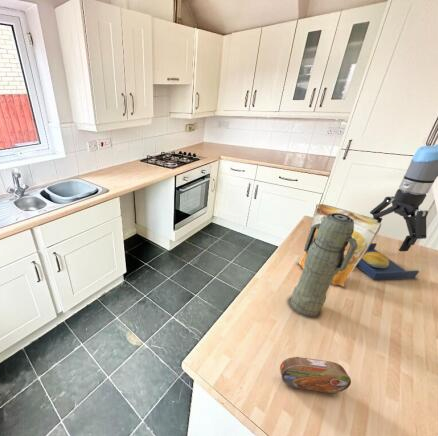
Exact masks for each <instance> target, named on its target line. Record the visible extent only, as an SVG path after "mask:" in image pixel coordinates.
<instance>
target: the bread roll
mask: <svg viewBox="0 0 438 436" xmlns="http://www.w3.org/2000/svg"><path fill="white" fill-rule="evenodd" d="M388 259H389V258H388V256H386V255H385V254H383V253H380V252H379V253H378V251H377V252H367V253H365V254H364V256H363V257H362V261H364V262H365V263H366V264H367V265H369V266H372V267H375V268H386V267H388V266H389V260H390V259H389V260H388Z"/></svg>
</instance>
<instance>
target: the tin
mask: <svg viewBox="0 0 438 436" xmlns="http://www.w3.org/2000/svg"><path fill="white" fill-rule="evenodd" d="M279 373H280V376H281V379H282V381H283V383H284V384H285V385H287V386H289V387H292V388H295V389H301V390H309V391H314V392H320V393H327V394H337V393H341V392H343V391H346V390H347V389H348V388H350V386H351V385H352V379H351V377H350V375H349V374H348V372H347V371H346V369H345V368H344V367H343V366H342V365H341V364H339V363H337V362H335V361H329V360H321V359H314V358H307V357H300V356H292V357H289V358H286V359H284V360H283V361H282V362H281V364H280V365H279Z"/></svg>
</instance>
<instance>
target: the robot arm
mask: <svg viewBox="0 0 438 436" xmlns="http://www.w3.org/2000/svg"><path fill="white" fill-rule="evenodd" d="M437 178H438V144H434V145H424V146H420V147H418V149H417V150H416V152H415V153H414V155H413V157H412V158H411V160H410V163H409V166H408V167H407V170H406V172H405V174H404V176H403V177H402V180H401V182H400V185H399V187H398V189H397V190H396V191H395V194H394V196H385V197H384V199H383V200H382V201H381V202H380V203H379V204H378V205H377V206H376V207H374V208H373V209H371V210H370V212H369V214H370V215H372V218H374V219H376V220H378V222H379V223H381V224H382V221H383V217H385V216H387V215H389V214H392V213H394V214H397V215H399V216H400V217H403V219H404V221H405V224H406V227H407V231H408V234H409V235H406V236H405V238H404V239H403V242H402V243H401V245H400V247H399V249H398V252H408V251H409V250H410V248H411V246H414V245H415V244H416V242H417V240H423V239H425V240H426V239H427V216H428V215H429V211H428V210H423V209H422V210H421V209H419V208H420V206H421V205H422V204H423V203H424V201H425V200H426V197H427V194H428V193H429V192H430V190H431V189H432V186H433V185H434V182H435V181H436V179H437ZM389 205H391V206H389ZM388 206H389V207H388ZM385 208H386V209H385Z"/></svg>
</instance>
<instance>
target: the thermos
mask: <svg viewBox="0 0 438 436" xmlns="http://www.w3.org/2000/svg"><path fill="white" fill-rule="evenodd" d="M316 228H317V229H319V230H318V232H317V235H316V239H315V240H314V243H313V244H312V245H311V242H312V239H313V236H314V234H315V231H316ZM309 231H310V230H309ZM353 231H354V220H353V219H352V218H350V217H349V216H347V215H344V214H340V213H331V214H328V215H327V216H326V217H325V218H324V219H323V220H322V222H321V224H320V223H319V224H316V225H314V226H313V227H312V228H311V231H310V233H309V232H308V235H309V236H307V239H306V242H305V245H304V250H303V252H306V254H307V255H306V258H305V261H304V263H305V266H304V269H303V268H302V272H301V275H300V277H299V279H298V283H297V285H296V286H295V287H294V289H293V291H292V293H291V298H290V301H289V303H290V306H291V308H292V309H293V310H294V311H295V312H296V313H298V314H300V315H302V316H304V317H309V318H314V317H317V316H318V315H319V314H320V311H321V310H322V308H323V306H324V304H325V302H326V299H327V293H328V290H329V289H330V286H331V285H332V284H331V282H332V279H333V277H334V275H336V274H337V273H338V271H341V270H345V269H346V268H347V266H348V263H349V261H350V259H351V258H352V256H353V254H354V252H355V250H356V248H357V246H358V245H357V242H356V240H355V239H353V238H352V234H353ZM348 242H349V244H350V247H349V249H348V252H347V254H346V256H345V258H344V251H345V247H346V246H347V245H348ZM310 245H311V246H310Z"/></svg>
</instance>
